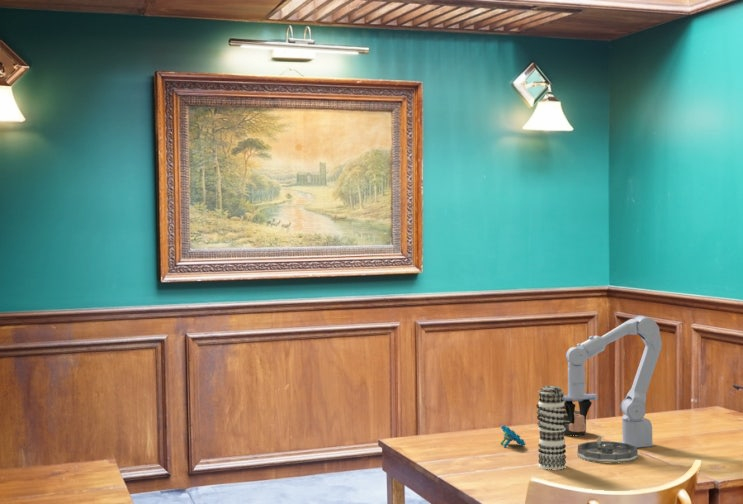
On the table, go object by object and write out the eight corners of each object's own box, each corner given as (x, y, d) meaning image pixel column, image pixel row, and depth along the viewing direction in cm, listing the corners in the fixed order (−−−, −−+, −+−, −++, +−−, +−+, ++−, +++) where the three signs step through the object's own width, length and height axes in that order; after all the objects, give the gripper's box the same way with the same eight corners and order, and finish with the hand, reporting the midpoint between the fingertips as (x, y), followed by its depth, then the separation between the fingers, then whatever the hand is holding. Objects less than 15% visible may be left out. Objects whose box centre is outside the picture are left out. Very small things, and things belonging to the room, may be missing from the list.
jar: (565, 429, 347) (565, 409, 347) (590, 432, 341) (590, 411, 341) (553, 434, 339) (553, 413, 339) (579, 438, 333) (579, 416, 333)
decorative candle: (561, 471, 287) (560, 390, 287) (532, 468, 292) (531, 388, 291) (571, 465, 295) (570, 385, 294) (543, 461, 300) (542, 383, 299)
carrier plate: (617, 447, 318) (617, 431, 317) (649, 460, 299) (649, 443, 299) (566, 452, 312) (566, 436, 312) (596, 465, 294) (596, 448, 294)
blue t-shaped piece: (530, 444, 318) (509, 424, 317) (520, 457, 316) (498, 437, 315) (519, 441, 328) (498, 422, 328) (508, 454, 327) (487, 435, 326)
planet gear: (580, 427, 324) (580, 413, 324) (588, 431, 319) (588, 416, 318) (566, 429, 322) (566, 414, 322) (574, 432, 317) (573, 417, 317)
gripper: (589, 379, 326) (590, 418, 326) (551, 382, 322) (552, 421, 322) (600, 382, 319) (600, 422, 319) (561, 385, 315) (562, 425, 315)
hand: (577, 422), depth 320 cm, fingers closed on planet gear, 4 cm apart
